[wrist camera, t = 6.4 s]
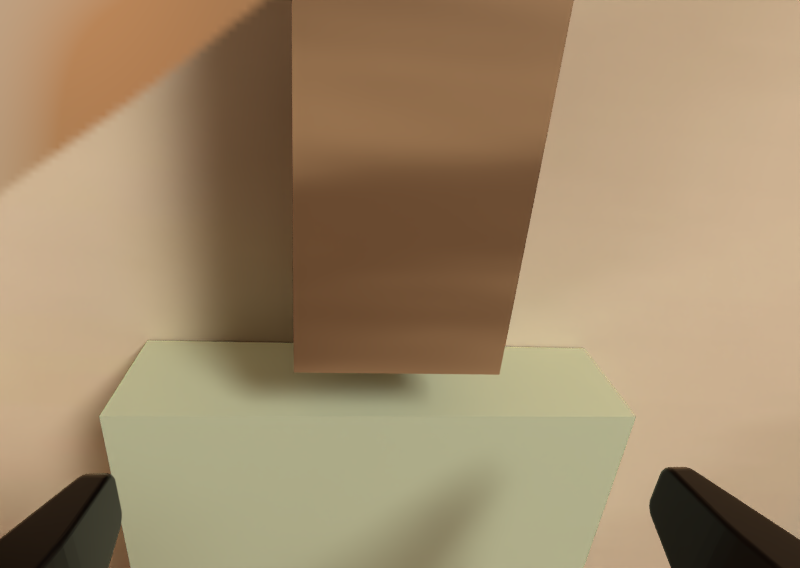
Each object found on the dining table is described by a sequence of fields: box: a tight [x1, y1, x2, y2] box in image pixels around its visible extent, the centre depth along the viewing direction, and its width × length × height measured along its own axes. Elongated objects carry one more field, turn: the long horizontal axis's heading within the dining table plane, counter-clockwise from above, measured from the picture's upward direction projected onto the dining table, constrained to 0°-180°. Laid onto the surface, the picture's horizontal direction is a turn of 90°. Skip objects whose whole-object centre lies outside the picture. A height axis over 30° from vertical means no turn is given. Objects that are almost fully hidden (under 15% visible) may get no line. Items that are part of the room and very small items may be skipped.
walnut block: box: [292, 0, 574, 375], centre depth 10 cm, size 4×4×9 cm
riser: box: [99, 340, 636, 568], centre depth 15 cm, size 10×12×3 cm
